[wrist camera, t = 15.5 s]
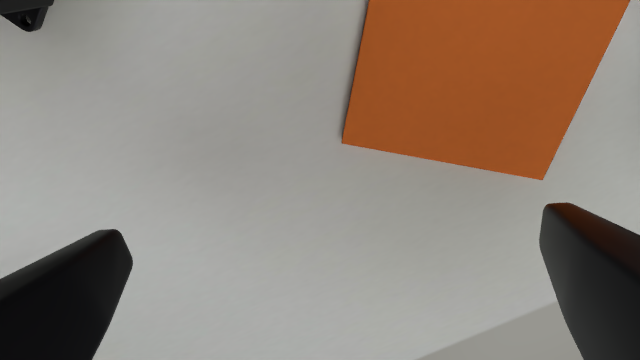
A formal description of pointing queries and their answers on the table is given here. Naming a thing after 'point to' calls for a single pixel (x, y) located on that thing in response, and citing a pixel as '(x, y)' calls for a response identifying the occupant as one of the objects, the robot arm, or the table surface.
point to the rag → (476, 78)
